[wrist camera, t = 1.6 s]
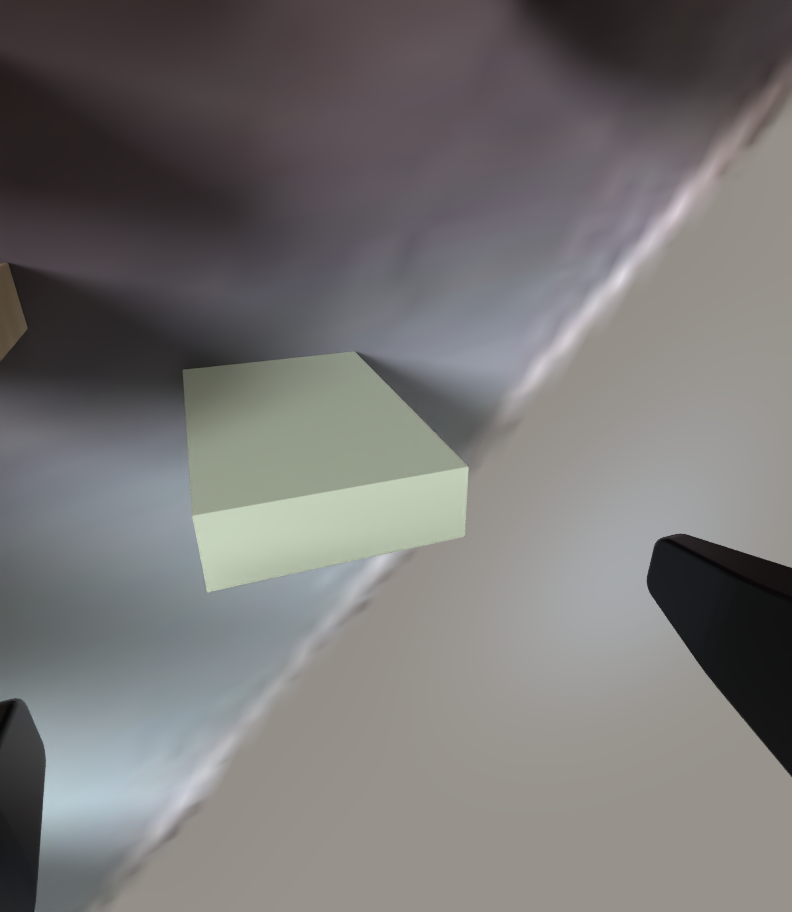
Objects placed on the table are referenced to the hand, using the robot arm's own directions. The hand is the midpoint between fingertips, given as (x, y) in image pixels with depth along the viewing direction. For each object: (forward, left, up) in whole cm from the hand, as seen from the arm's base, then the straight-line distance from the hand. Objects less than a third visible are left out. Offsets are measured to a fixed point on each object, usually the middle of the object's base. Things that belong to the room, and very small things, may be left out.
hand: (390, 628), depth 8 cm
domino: (0, 0, -11) cm, 11 cm away
